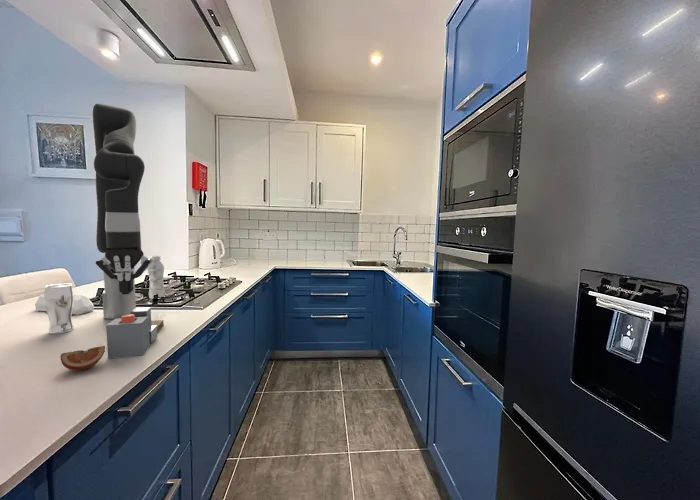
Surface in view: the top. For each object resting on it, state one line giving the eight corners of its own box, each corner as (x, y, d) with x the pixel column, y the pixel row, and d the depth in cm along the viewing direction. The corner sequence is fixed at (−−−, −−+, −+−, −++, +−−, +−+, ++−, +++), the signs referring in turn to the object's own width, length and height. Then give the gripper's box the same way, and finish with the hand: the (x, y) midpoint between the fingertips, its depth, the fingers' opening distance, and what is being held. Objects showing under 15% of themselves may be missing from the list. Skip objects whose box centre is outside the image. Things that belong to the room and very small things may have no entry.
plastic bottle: (158, 301, 140) (156, 257, 139) (145, 300, 142) (143, 256, 140) (169, 298, 147) (167, 255, 145) (156, 297, 148) (154, 255, 146)
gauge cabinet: (107, 358, 83) (106, 325, 82) (117, 349, 89) (115, 318, 88) (142, 355, 85) (141, 322, 85) (149, 346, 91) (148, 316, 90)
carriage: (126, 345, 90) (124, 313, 89) (133, 338, 96) (131, 307, 95) (151, 343, 92) (150, 311, 91) (157, 336, 98) (156, 306, 97)
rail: (130, 347, 90) (129, 341, 90) (150, 326, 108) (150, 320, 108) (146, 346, 91) (145, 339, 91) (163, 325, 109) (163, 319, 109)
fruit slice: (105, 359, 83) (104, 341, 82) (107, 368, 78) (106, 349, 77) (61, 369, 77) (60, 349, 77) (61, 379, 72) (59, 358, 72)
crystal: (102, 300, 127) (57, 296, 133) (85, 295, 121) (39, 290, 126) (93, 318, 124) (48, 313, 130) (76, 314, 118) (29, 309, 123)
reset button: (120, 343, 85) (119, 317, 84) (124, 339, 88) (123, 314, 87) (133, 342, 86) (132, 317, 85) (137, 338, 89) (136, 313, 88)
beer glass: (80, 328, 105) (77, 284, 104) (55, 335, 98) (52, 288, 97) (67, 326, 107) (64, 282, 106) (41, 333, 101) (38, 286, 99)
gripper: (155, 229, 89) (158, 289, 91) (100, 229, 85) (103, 291, 87) (147, 230, 82) (150, 295, 84) (86, 230, 78) (90, 298, 80)
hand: (126, 293), depth 86 cm, fingers closed
